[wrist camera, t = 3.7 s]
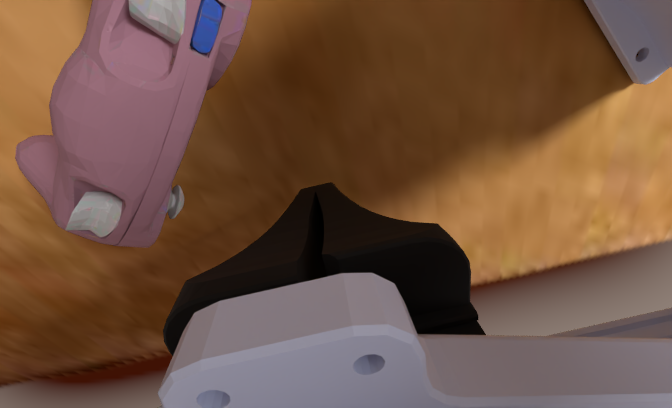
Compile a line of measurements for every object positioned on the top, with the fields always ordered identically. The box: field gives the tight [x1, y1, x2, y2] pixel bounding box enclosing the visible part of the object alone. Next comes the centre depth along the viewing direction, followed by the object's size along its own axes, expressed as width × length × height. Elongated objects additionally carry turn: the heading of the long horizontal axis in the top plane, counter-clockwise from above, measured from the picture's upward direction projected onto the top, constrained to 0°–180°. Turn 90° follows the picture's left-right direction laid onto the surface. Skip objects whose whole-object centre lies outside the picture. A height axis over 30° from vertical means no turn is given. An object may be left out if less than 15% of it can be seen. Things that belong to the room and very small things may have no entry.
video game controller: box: [15, 0, 252, 248], centre depth 9 cm, size 10×5×7 cm, turn 149°
